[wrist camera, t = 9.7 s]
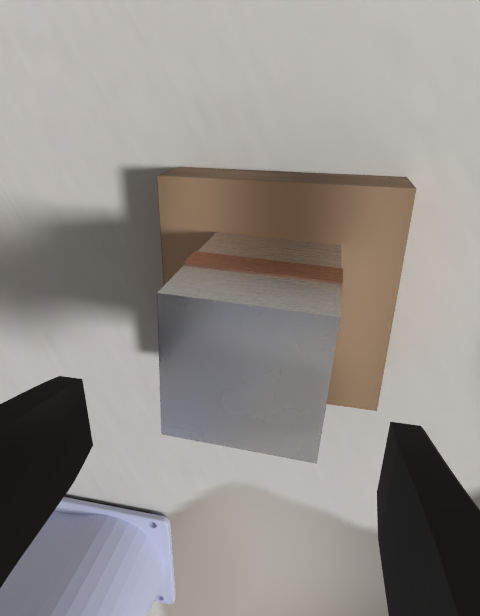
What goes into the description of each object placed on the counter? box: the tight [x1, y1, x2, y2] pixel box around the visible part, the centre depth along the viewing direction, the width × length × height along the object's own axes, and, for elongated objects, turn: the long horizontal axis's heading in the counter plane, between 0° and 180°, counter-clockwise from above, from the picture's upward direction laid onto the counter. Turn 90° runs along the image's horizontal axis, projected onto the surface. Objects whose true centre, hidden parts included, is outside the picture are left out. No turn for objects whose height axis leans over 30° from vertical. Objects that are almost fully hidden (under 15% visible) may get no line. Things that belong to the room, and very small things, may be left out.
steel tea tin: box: [157, 232, 343, 463], centre depth 15 cm, size 5×5×6 cm
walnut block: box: [157, 167, 416, 411], centre depth 19 cm, size 9×9×3 cm
